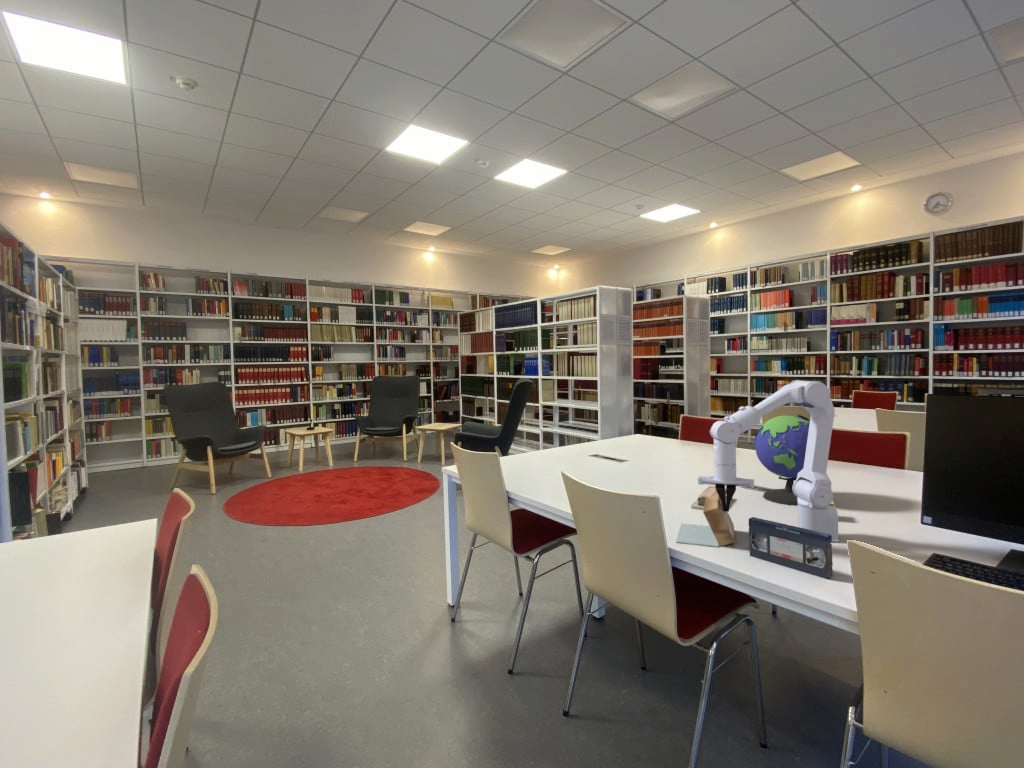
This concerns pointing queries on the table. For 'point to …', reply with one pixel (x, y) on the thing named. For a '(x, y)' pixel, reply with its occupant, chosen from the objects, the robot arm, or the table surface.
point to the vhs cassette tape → (791, 547)
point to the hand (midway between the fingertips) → (726, 510)
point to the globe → (783, 453)
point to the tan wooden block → (719, 520)
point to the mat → (696, 535)
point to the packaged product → (707, 493)
